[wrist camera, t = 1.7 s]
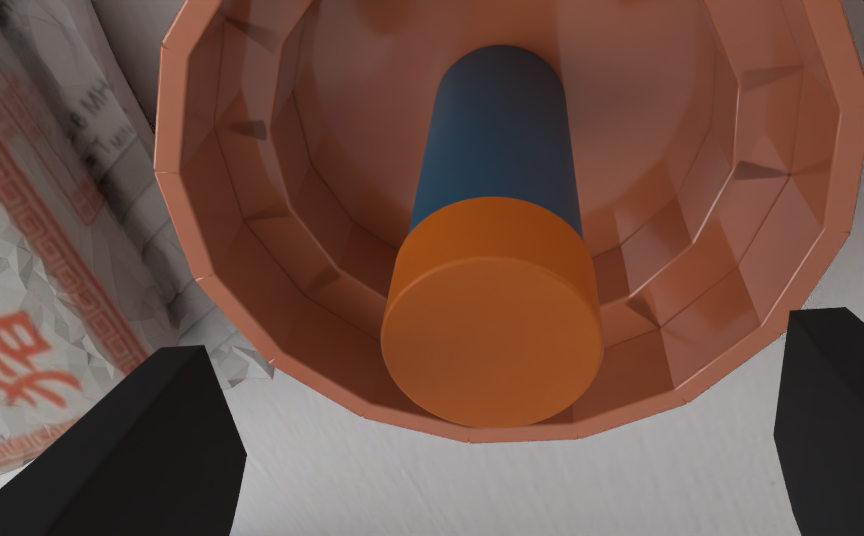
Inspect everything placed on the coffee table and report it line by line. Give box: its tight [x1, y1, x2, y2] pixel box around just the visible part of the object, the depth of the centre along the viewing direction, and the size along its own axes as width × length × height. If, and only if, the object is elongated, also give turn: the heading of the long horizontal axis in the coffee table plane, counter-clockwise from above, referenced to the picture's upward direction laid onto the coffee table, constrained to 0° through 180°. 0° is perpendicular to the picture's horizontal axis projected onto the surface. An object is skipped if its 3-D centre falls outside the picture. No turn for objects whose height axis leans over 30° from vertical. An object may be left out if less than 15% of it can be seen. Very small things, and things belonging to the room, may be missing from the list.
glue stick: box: [381, 45, 604, 428], centre depth 14 cm, size 3×3×8 cm
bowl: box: [153, 0, 864, 443], centre depth 16 cm, size 12×12×4 cm
